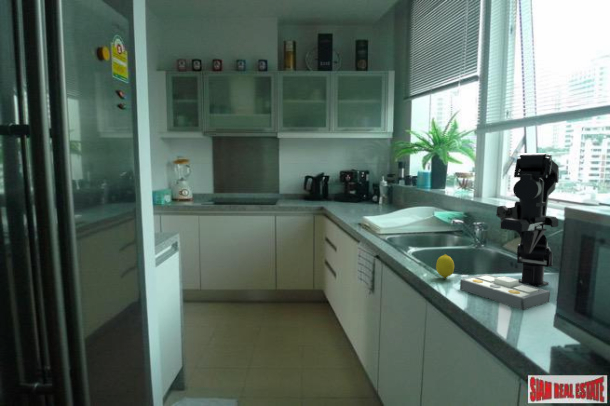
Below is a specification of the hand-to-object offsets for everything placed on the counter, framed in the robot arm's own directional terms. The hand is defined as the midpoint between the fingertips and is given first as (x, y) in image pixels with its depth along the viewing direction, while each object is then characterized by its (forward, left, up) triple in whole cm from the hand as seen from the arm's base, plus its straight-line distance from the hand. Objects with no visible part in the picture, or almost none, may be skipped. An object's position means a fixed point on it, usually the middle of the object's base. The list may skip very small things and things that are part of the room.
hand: (528, 252), depth 107 cm
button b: (+6, -2, -10) cm, 12 cm away
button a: (+5, -8, -11) cm, 15 cm away
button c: (+6, +3, -11) cm, 13 cm away
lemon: (+8, -22, -12) cm, 26 cm away
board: (+7, -3, -12) cm, 14 cm away
